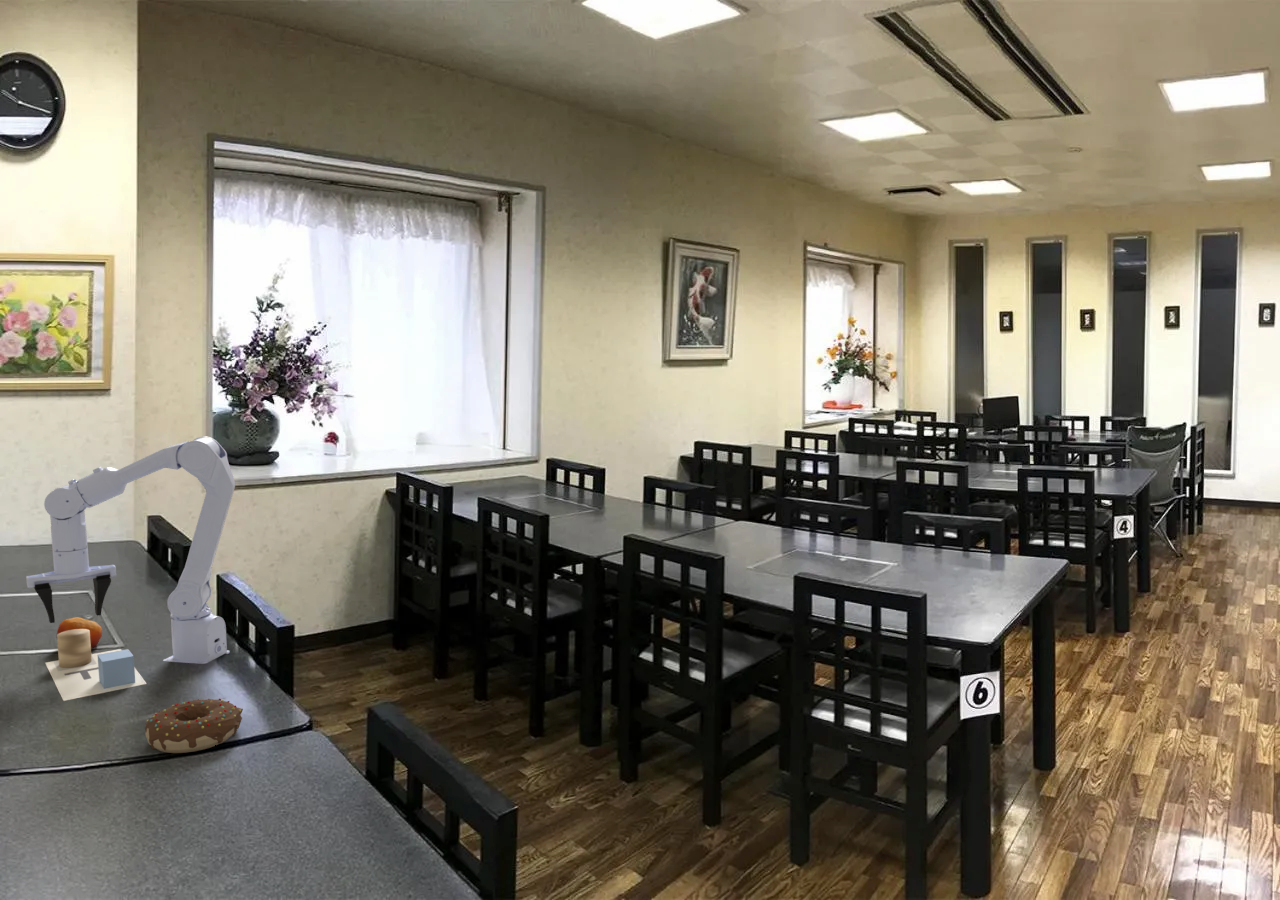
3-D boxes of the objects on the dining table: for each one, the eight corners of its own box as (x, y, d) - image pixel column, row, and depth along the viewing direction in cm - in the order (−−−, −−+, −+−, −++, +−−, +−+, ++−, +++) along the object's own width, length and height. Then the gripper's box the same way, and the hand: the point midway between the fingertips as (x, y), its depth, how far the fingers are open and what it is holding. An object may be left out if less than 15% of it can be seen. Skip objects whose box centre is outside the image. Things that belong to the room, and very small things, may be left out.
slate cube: (129, 674, 172) (128, 649, 171) (135, 682, 168) (133, 655, 167) (99, 681, 169) (97, 654, 168) (104, 688, 165) (102, 661, 164)
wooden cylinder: (89, 656, 182) (87, 627, 181) (93, 663, 178) (91, 633, 177) (57, 662, 179) (55, 632, 178) (61, 669, 174) (59, 639, 174)
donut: (154, 767, 136) (152, 734, 135) (139, 736, 147) (138, 705, 146) (255, 743, 144) (254, 712, 144) (234, 715, 155) (233, 686, 155)
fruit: (38, 648, 184) (57, 610, 187) (74, 658, 191) (91, 621, 194) (62, 655, 181) (81, 615, 183) (97, 664, 187) (115, 626, 190)
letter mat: (120, 651, 187) (120, 648, 187) (147, 686, 167) (146, 683, 167) (45, 665, 179) (45, 662, 179) (63, 704, 159) (63, 700, 159)
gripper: (109, 540, 183) (114, 606, 184) (22, 550, 174) (28, 620, 175) (116, 546, 177) (121, 614, 179) (26, 556, 168) (32, 628, 170)
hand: (75, 617), depth 177 cm, fingers open, 7 cm apart
